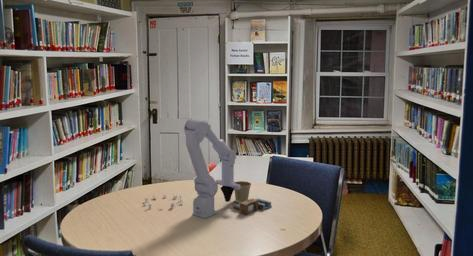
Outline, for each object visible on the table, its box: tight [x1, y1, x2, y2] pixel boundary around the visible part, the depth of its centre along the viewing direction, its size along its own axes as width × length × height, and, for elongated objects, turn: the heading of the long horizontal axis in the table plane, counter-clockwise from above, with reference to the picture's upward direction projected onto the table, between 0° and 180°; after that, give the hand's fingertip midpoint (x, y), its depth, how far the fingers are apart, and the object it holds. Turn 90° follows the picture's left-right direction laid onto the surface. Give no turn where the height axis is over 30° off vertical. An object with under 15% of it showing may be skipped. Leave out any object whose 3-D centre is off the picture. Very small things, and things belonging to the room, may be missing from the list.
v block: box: [255, 198, 273, 212], centre depth 208 cm, size 7×8×3 cm
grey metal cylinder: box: [232, 199, 255, 214], centre depth 203 cm, size 10×4×4 cm, turn 49°
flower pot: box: [233, 180, 252, 202], centre depth 217 cm, size 9×9×9 cm
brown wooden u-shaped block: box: [239, 198, 259, 216], centre depth 201 cm, size 9×4×5 cm, turn 139°
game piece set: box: [143, 192, 183, 211], centre depth 213 cm, size 19×20×4 cm
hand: (227, 201), depth 210 cm, fingers closed
